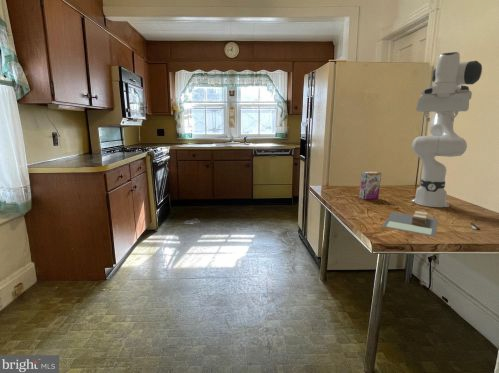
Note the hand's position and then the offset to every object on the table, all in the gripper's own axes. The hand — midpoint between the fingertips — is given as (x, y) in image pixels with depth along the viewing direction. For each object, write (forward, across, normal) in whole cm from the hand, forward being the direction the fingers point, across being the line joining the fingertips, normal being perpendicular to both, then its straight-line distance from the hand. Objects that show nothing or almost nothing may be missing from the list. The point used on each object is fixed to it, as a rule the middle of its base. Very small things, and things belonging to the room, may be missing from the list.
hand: (439, 121), depth 136 cm
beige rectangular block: (+46, +2, +10) cm, 47 cm away
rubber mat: (+46, +5, +15) cm, 49 cm away
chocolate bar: (+47, -14, -2) cm, 49 cm away
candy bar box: (+46, +32, -25) cm, 61 cm away
